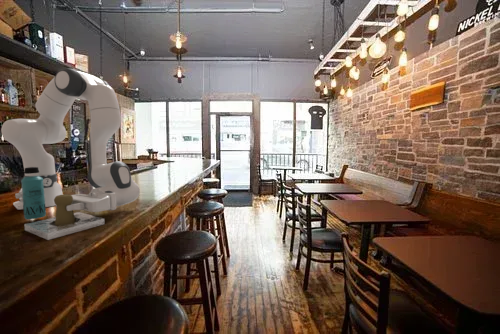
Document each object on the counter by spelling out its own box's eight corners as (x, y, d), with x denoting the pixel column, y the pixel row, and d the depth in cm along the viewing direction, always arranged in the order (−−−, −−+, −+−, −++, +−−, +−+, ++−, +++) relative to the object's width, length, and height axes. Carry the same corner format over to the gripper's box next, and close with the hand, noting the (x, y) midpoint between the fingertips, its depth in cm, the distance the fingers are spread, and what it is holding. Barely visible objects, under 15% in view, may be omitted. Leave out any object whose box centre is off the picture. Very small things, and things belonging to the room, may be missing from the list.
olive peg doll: (68, 229, 87) (66, 196, 86) (50, 229, 87) (47, 196, 86) (80, 223, 93) (78, 192, 92) (63, 223, 93) (60, 193, 92)
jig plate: (24, 230, 87) (24, 224, 87) (79, 217, 101) (79, 212, 101) (48, 240, 78) (47, 233, 78) (104, 224, 93) (104, 218, 92)
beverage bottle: (20, 222, 96) (14, 167, 94) (40, 217, 102) (35, 166, 100) (31, 224, 93) (25, 168, 91) (51, 219, 99) (46, 166, 97)
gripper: (83, 188, 105) (43, 195, 93) (117, 193, 96) (79, 201, 84) (84, 204, 106) (45, 213, 93) (118, 209, 97) (80, 220, 84)
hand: (61, 207), depth 88 cm, fingers closed on olive peg doll, 4 cm apart
